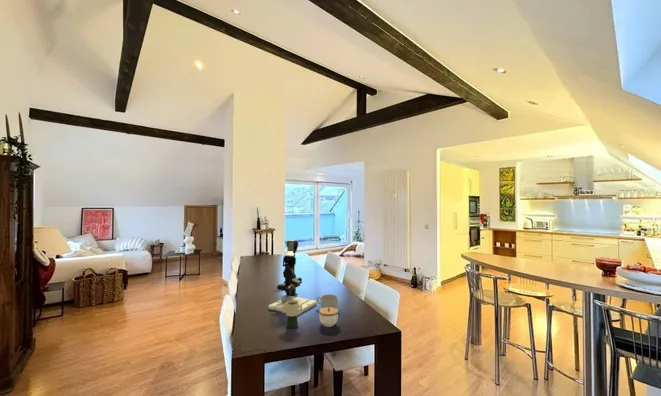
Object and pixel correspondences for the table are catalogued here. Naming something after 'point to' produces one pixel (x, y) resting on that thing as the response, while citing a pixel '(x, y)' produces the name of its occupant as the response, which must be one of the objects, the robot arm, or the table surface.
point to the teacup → (328, 301)
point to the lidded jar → (328, 316)
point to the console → (304, 302)
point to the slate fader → (285, 298)
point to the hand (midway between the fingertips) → (289, 297)
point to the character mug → (292, 313)
